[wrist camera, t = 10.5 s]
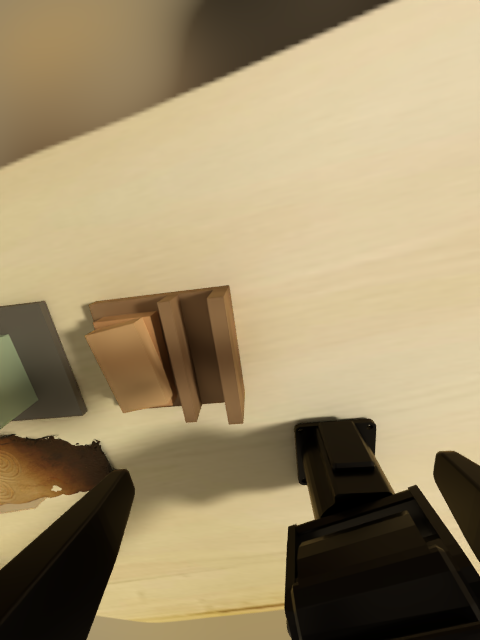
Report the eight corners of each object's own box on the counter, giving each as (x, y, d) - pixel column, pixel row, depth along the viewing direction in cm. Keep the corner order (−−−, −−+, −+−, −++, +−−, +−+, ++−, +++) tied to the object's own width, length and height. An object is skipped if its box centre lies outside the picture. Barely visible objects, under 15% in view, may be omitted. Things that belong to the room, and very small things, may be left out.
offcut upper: (173, 392, 18) (168, 403, 17) (131, 402, 19) (123, 413, 18) (142, 317, 17) (133, 323, 15) (96, 329, 17) (84, 336, 16)
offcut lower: (177, 395, 20) (172, 405, 19) (129, 399, 20) (121, 409, 19) (156, 310, 18) (150, 316, 16) (103, 317, 18) (92, 322, 17)
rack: (244, 393, 21) (243, 423, 17) (129, 402, 22) (106, 433, 18) (229, 285, 18) (223, 296, 15) (96, 301, 19) (63, 315, 15)
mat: (87, 410, 22) (82, 415, 22) (4, 417, 23) (-2, 422, 22) (44, 301, 19) (38, 303, 18) (-50, 312, 20) (-59, 314, 19)
